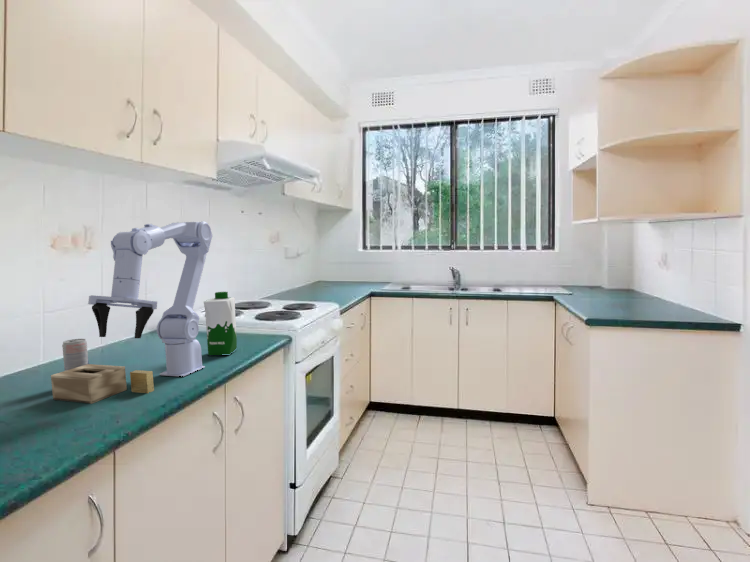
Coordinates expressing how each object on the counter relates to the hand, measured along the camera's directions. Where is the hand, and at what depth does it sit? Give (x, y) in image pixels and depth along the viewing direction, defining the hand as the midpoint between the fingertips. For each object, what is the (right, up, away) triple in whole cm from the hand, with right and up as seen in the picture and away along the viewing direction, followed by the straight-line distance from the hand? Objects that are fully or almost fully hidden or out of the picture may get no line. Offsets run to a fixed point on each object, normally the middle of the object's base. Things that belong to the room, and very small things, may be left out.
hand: (120, 337), depth 109 cm
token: (+2, -14, +6) cm, 16 cm away
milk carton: (+10, -11, +43) cm, 46 cm away
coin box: (-10, -15, +5) cm, 18 cm away
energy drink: (-18, -14, +12) cm, 26 cm away
